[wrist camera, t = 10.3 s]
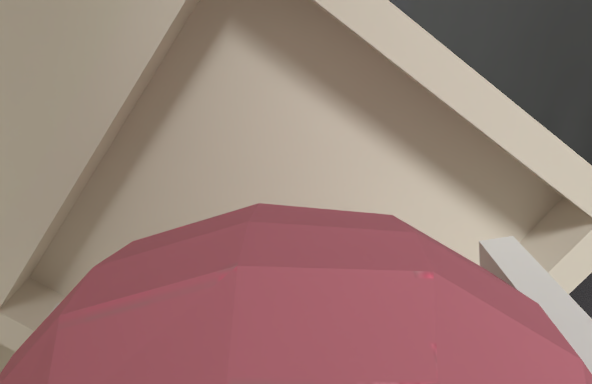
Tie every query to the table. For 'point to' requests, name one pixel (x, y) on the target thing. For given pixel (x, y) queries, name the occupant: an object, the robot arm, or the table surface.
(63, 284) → the tray
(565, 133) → the table surface
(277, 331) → the apple
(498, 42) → the table surface
